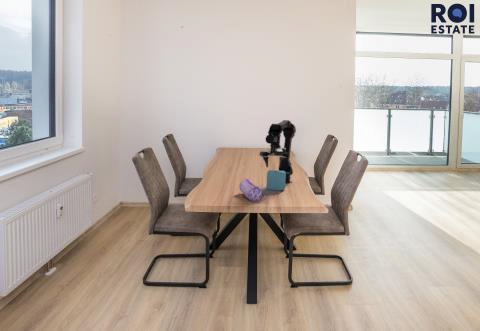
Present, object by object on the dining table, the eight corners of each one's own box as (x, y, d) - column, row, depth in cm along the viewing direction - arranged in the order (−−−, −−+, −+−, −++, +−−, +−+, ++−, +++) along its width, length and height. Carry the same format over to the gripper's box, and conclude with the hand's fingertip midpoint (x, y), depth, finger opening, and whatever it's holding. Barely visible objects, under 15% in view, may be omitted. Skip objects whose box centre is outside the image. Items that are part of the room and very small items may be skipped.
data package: (284, 189, 289) (285, 171, 287) (284, 190, 284) (285, 172, 282) (266, 188, 290) (267, 170, 288) (266, 189, 285) (267, 171, 283)
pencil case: (263, 201, 257) (264, 185, 255) (248, 202, 254) (249, 186, 253) (251, 192, 278) (251, 178, 276) (237, 193, 275) (237, 178, 273)
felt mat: (263, 187, 291) (263, 187, 291) (281, 192, 279) (281, 192, 279) (250, 190, 283) (250, 190, 283) (267, 195, 271) (267, 194, 271)
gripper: (267, 143, 273) (265, 168, 274) (294, 144, 280) (292, 169, 281) (260, 142, 283) (258, 166, 285) (286, 143, 290) (284, 167, 291)
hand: (273, 167), depth 285 cm, fingers open, 9 cm apart
